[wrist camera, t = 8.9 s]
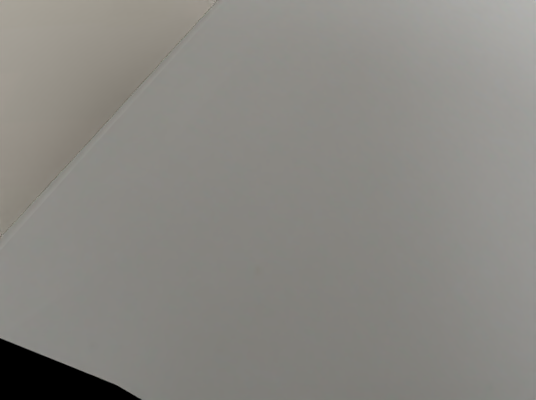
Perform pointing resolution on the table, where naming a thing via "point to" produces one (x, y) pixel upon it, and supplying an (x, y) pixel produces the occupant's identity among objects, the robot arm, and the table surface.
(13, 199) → the table surface
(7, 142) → the table surface
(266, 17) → the supplement box
